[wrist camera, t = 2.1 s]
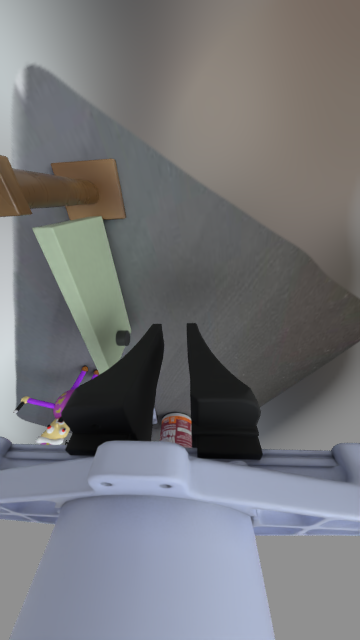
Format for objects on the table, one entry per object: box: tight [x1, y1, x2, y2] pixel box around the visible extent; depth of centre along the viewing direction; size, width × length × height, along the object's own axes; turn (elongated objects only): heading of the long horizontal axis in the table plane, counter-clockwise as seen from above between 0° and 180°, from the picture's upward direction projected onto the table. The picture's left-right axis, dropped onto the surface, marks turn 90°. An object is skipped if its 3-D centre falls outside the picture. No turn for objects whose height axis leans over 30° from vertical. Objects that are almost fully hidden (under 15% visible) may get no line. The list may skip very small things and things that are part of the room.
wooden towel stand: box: [0, 155, 126, 220], centre depth 11 cm, size 4×5×10 cm
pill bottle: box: [160, 413, 192, 448], centre depth 32 cm, size 6×6×11 cm
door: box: [32, 216, 131, 374], centre depth 16 cm, size 13×2×7 cm, turn 3°
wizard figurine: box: [13, 366, 99, 445], centre depth 24 cm, size 11×3×12 cm, turn 67°
